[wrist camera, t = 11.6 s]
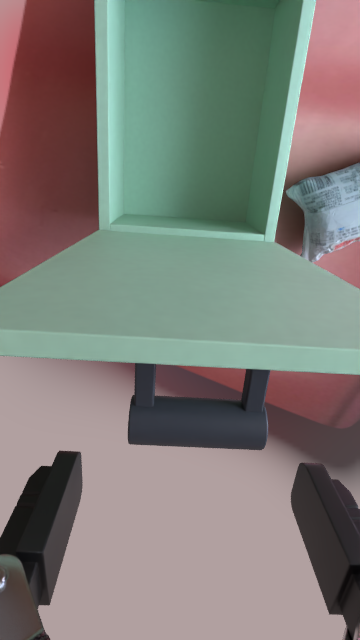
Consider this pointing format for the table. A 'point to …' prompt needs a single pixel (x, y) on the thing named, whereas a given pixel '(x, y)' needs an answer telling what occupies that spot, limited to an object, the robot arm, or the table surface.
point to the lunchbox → (197, 113)
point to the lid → (185, 324)
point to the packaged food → (329, 211)
